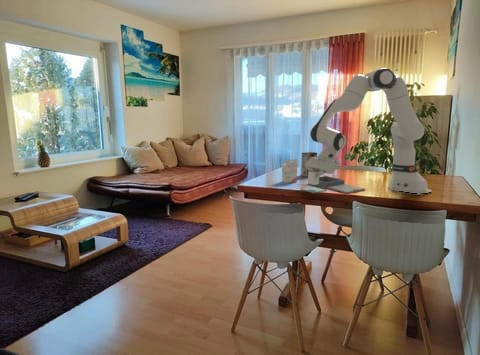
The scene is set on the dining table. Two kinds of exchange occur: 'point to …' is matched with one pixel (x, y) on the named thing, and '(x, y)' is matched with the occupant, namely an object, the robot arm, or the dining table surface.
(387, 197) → the dining table surface
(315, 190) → the pad
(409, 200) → the dining table surface
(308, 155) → the coffee box
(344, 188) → the equipment case
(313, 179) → the block
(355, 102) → the robot arm
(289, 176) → the ink cartridge box
